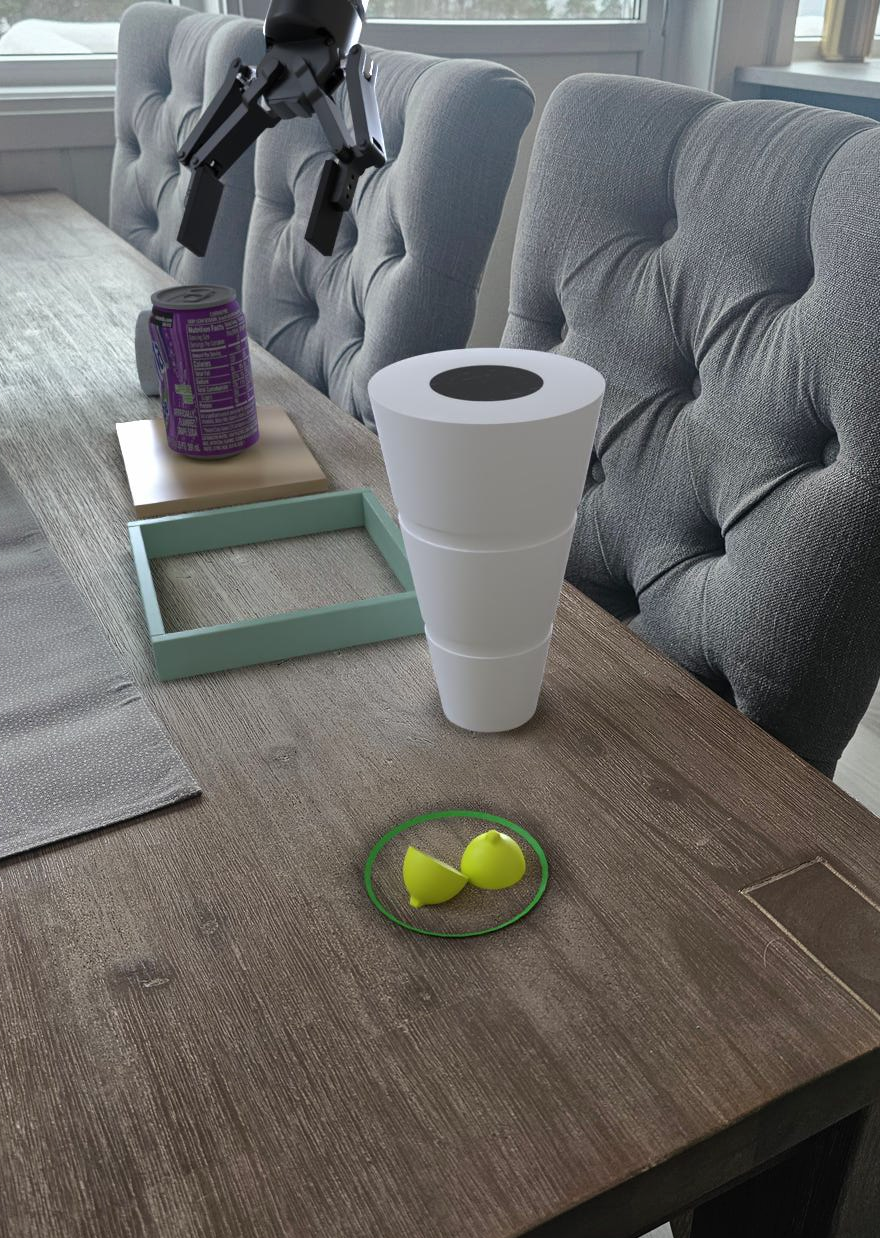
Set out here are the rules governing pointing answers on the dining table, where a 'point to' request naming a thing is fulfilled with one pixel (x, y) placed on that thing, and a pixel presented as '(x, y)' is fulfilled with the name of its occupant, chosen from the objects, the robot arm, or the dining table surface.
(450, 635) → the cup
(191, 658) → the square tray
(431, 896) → the green round dish
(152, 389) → the ceramic mug
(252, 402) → the beverage can
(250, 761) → the dining table surface
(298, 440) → the birch board
